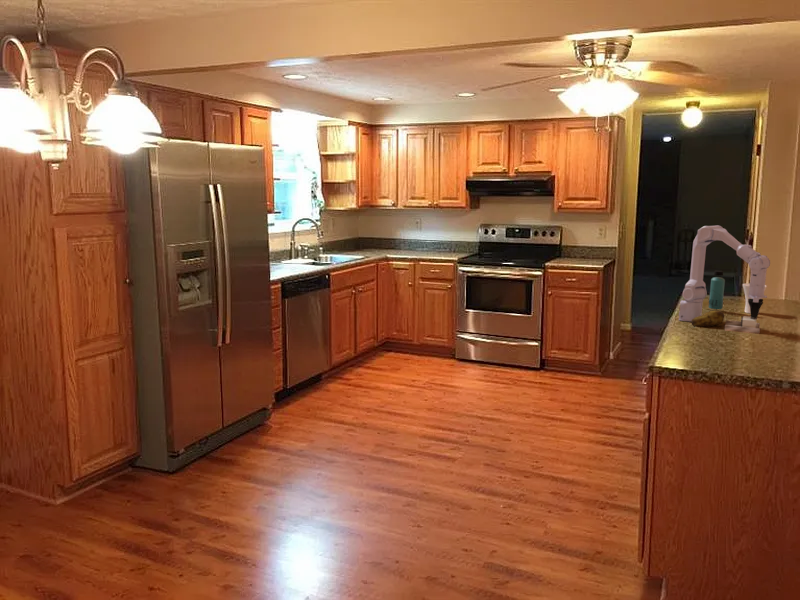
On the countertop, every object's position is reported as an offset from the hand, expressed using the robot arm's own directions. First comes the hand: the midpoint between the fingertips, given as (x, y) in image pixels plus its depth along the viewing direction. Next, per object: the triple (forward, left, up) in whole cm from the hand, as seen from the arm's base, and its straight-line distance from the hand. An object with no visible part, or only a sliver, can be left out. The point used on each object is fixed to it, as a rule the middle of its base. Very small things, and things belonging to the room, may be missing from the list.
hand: (753, 316), depth 282 cm
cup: (-1, +49, -7) cm, 49 cm away
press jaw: (-2, 0, -6) cm, 6 cm away
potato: (-18, 0, -7) cm, 19 cm away
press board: (-4, 0, -7) cm, 8 cm away
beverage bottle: (-17, +44, -7) cm, 47 cm away
